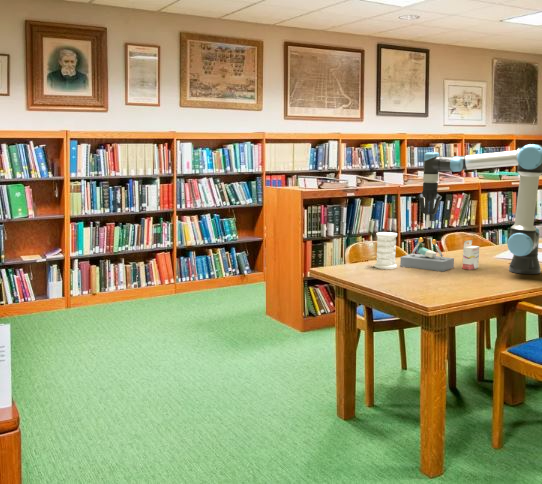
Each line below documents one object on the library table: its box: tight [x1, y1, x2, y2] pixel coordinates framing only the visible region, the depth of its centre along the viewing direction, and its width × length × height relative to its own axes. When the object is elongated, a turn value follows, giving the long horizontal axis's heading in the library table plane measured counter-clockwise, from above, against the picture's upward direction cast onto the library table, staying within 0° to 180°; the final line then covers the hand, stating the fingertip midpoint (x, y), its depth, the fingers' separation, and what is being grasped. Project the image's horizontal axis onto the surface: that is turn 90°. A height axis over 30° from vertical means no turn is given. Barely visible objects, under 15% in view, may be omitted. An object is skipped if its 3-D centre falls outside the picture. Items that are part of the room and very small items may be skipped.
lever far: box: [411, 237, 424, 254], centre depth 345 cm, size 3×3×10 cm
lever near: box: [431, 239, 444, 257], centre depth 338 cm, size 3×3×10 cm
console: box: [399, 253, 455, 272], centre depth 342 cm, size 24×14×6 cm, turn 53°
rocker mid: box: [417, 247, 438, 258], centre depth 342 cm, size 8×5×2 cm, turn 54°
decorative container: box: [374, 231, 398, 270], centre depth 341 cm, size 12×12×18 cm
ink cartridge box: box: [462, 239, 480, 271], centre depth 337 cm, size 9×5×15 cm, turn 134°
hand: (428, 226), depth 340 cm, fingers closed
